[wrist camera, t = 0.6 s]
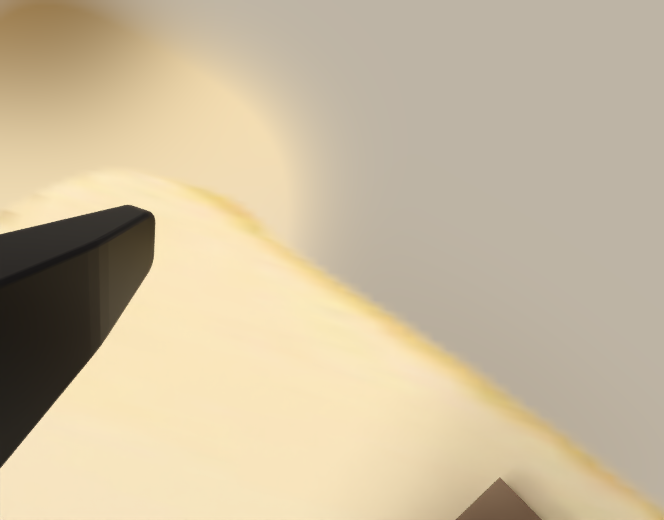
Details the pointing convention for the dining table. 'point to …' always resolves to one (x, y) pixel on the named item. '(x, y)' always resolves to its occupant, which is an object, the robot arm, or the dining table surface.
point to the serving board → (498, 505)
